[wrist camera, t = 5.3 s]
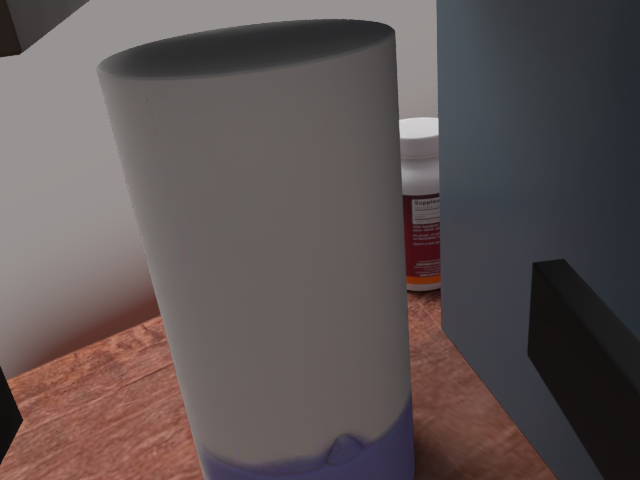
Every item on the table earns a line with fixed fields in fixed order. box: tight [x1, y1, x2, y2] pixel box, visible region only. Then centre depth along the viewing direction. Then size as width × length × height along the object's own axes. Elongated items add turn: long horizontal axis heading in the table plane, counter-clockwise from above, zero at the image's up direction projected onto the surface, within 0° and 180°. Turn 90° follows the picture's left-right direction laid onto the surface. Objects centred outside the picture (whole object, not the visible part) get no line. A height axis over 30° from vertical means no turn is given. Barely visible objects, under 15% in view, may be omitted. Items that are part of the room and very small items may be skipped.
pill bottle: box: [399, 118, 441, 291], centre depth 42 cm, size 6×6×11 cm
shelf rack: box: [0, 0, 640, 480], centre depth 25 cm, size 18×16×24 cm
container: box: [97, 19, 415, 480], centre depth 25 cm, size 10×10×20 cm
